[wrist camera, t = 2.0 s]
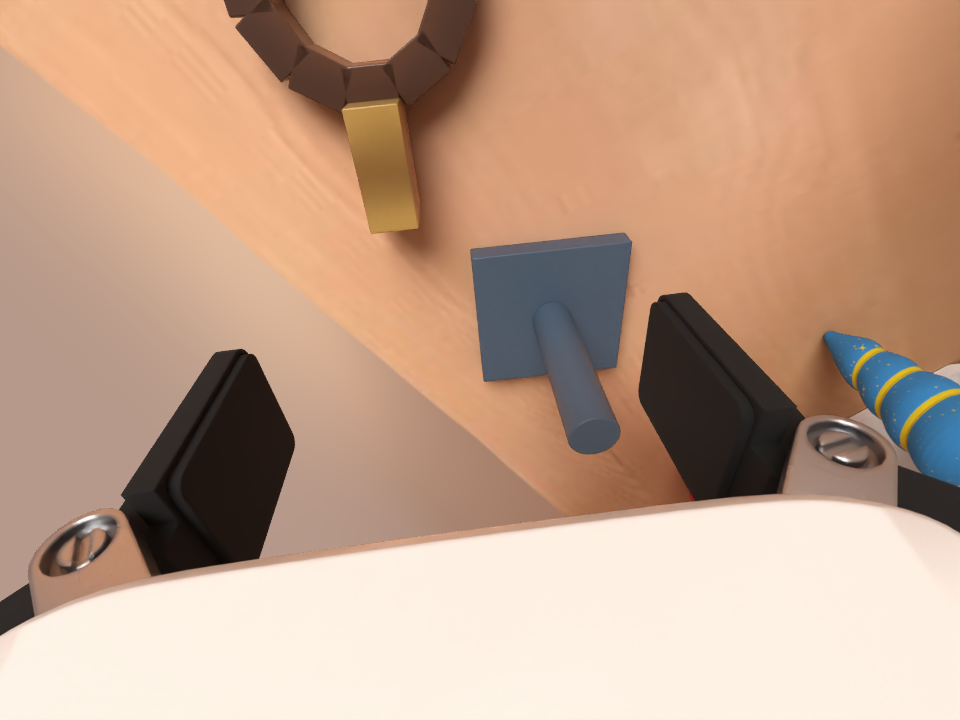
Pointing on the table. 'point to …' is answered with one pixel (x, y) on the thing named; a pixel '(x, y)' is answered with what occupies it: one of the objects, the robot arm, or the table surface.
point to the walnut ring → (364, 93)
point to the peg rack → (556, 323)
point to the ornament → (905, 402)
